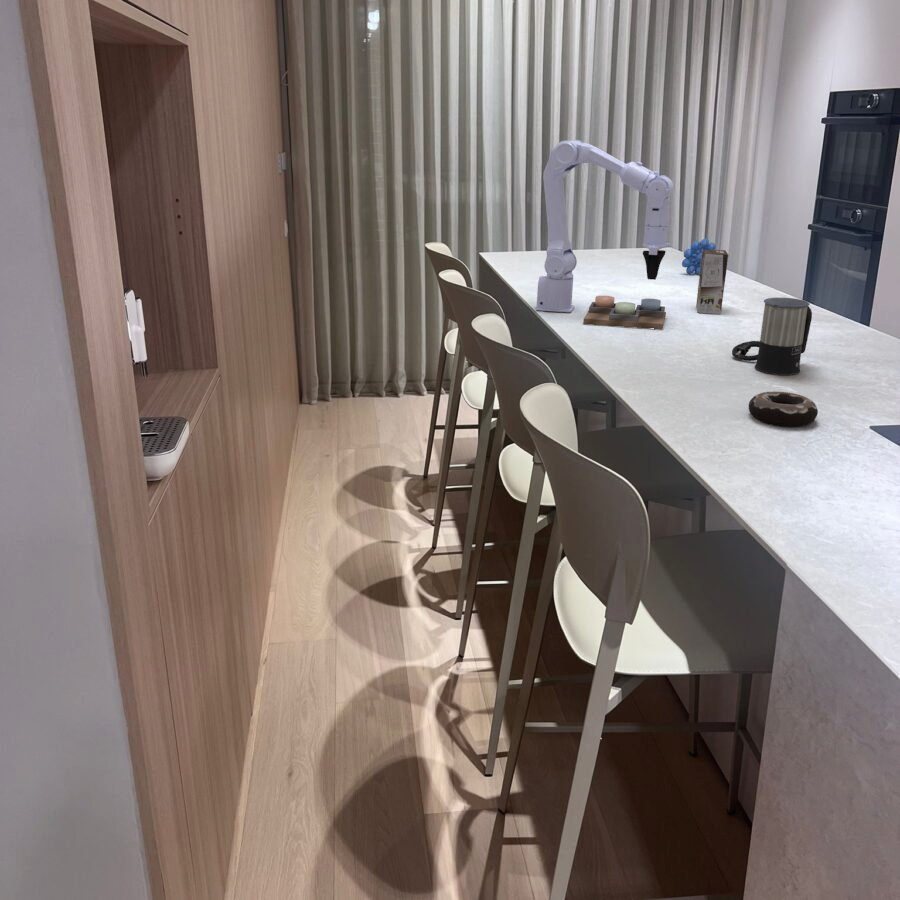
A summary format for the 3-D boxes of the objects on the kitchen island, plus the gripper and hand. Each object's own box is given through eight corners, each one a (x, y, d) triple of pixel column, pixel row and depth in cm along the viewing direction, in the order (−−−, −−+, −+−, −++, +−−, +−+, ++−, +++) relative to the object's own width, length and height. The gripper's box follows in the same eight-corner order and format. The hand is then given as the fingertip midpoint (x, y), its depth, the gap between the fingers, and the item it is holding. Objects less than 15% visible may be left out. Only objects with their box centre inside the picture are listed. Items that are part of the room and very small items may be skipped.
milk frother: (794, 378, 185) (805, 307, 180) (718, 367, 193) (726, 298, 187) (808, 363, 196) (819, 296, 191) (736, 353, 204) (745, 288, 199)
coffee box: (721, 314, 242) (729, 254, 236) (697, 313, 243) (704, 253, 237) (719, 307, 250) (726, 249, 245) (695, 306, 252) (702, 248, 246)
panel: (583, 324, 229) (584, 312, 228) (590, 312, 243) (591, 301, 242) (662, 329, 224) (663, 318, 223) (665, 317, 238) (666, 306, 237)
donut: (799, 409, 166) (803, 388, 165) (826, 430, 156) (830, 408, 154) (738, 409, 166) (741, 388, 165) (760, 430, 155) (764, 408, 154)
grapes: (709, 272, 305) (714, 236, 300) (717, 276, 298) (721, 239, 294) (676, 272, 304) (680, 236, 299) (683, 276, 297) (687, 239, 293)
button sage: (614, 314, 228) (614, 305, 227) (615, 310, 232) (616, 301, 231) (633, 316, 226) (634, 306, 226) (635, 312, 231) (636, 302, 230)
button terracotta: (593, 307, 235) (594, 298, 235) (595, 303, 240) (596, 295, 239) (612, 308, 234) (613, 299, 233) (614, 305, 239) (615, 296, 238)
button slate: (639, 310, 232) (640, 301, 232) (641, 306, 237) (642, 297, 236) (659, 312, 231) (660, 302, 230) (660, 308, 236) (661, 299, 235)
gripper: (671, 229, 220) (666, 284, 225) (673, 223, 233) (668, 275, 238) (642, 228, 221) (638, 283, 226) (646, 222, 235) (641, 273, 239)
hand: (651, 279), depth 232 cm, fingers closed
